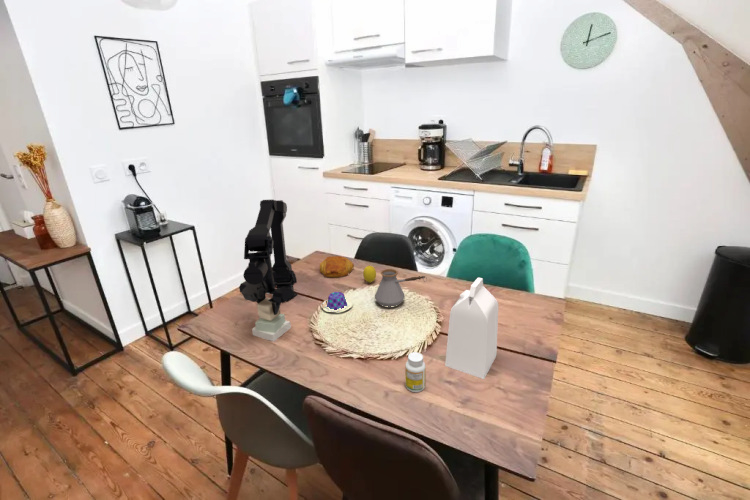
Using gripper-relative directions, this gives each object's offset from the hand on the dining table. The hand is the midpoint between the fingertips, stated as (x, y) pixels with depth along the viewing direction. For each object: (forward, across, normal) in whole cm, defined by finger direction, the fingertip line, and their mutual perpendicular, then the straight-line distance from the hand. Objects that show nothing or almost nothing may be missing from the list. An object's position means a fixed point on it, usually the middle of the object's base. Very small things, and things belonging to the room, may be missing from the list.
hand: (269, 312), depth 129 cm
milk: (+8, +65, +13) cm, 67 cm away
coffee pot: (+8, +33, +34) cm, 48 cm away
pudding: (+8, +11, +24) cm, 28 cm away
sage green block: (+5, 0, 0) cm, 5 cm away
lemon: (+8, +13, +47) cm, 49 cm away
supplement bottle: (+8, +54, -4) cm, 55 cm away
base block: (+8, 0, 0) cm, 8 cm away
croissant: (+8, -6, +50) cm, 51 cm away
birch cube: (+1, 0, 0) cm, 1 cm away
